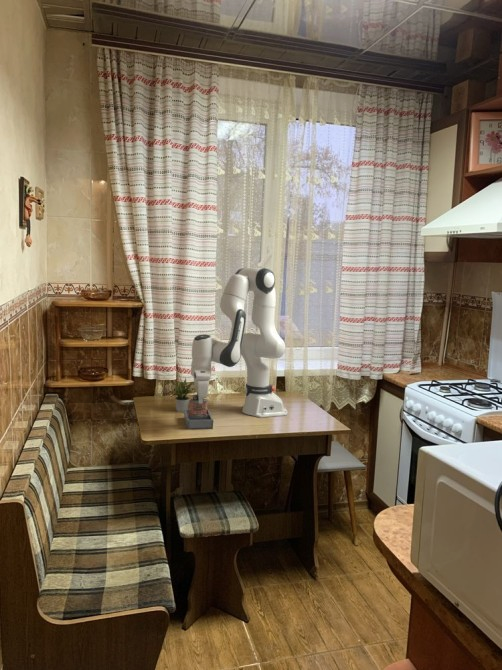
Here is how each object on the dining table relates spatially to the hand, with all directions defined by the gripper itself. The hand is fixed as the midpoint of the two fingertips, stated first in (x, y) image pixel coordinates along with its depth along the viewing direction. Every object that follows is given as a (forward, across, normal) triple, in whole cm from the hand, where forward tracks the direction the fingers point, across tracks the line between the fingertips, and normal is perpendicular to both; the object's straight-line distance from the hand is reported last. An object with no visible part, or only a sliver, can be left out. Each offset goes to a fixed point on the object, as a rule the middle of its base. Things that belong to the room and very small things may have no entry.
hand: (199, 401), depth 234 cm
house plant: (+12, -22, -5) cm, 25 cm away
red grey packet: (+7, 0, -1) cm, 7 cm away
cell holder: (+12, -4, 0) cm, 12 cm away
